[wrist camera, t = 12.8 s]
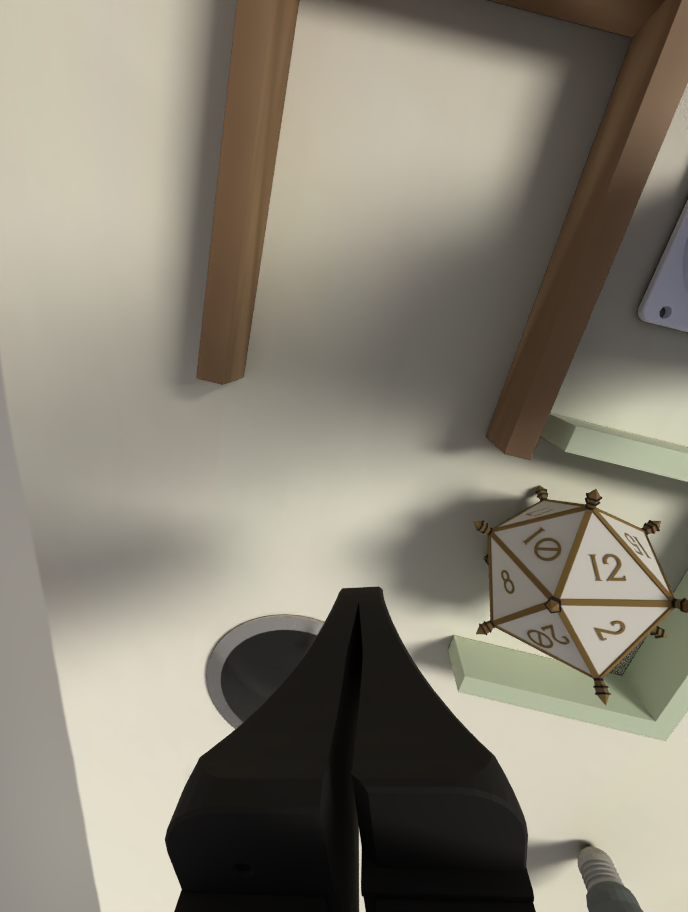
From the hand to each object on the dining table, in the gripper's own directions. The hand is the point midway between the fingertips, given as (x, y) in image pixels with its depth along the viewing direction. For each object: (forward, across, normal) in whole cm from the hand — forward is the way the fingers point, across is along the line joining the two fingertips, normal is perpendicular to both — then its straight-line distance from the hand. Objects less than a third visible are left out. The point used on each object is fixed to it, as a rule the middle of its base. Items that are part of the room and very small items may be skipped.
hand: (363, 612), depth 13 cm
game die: (+10, -9, +3) cm, 14 cm away
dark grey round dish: (+9, +6, +14) cm, 18 cm away
